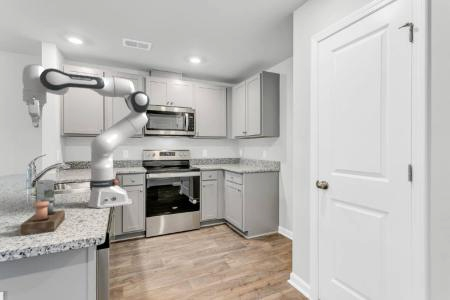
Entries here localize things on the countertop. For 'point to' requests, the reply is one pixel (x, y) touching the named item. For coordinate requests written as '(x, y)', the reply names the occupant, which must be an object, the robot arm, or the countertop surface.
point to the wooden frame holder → (43, 223)
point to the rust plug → (41, 210)
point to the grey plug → (51, 204)
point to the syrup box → (44, 189)
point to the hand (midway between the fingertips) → (35, 126)
